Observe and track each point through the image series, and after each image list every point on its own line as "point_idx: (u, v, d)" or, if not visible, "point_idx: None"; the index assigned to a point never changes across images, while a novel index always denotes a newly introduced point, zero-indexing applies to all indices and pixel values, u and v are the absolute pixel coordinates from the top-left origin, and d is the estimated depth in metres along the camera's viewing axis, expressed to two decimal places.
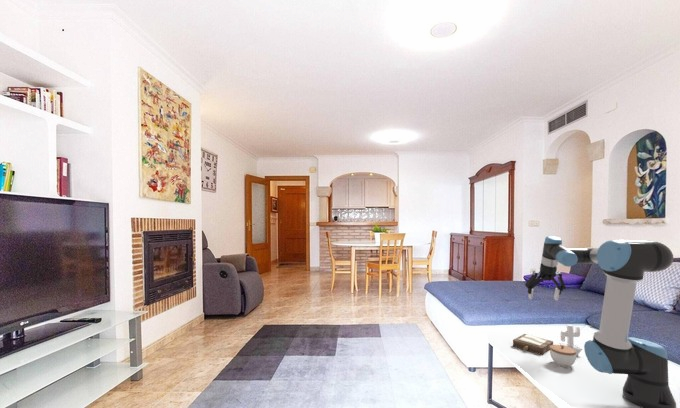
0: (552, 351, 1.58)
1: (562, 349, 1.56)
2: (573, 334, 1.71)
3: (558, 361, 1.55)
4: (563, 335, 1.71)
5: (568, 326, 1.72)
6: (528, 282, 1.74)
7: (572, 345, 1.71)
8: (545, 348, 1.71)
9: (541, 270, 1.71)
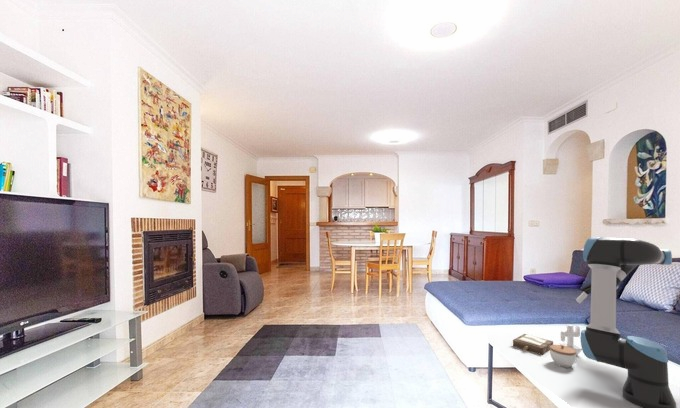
0: (552, 351, 1.58)
1: (562, 349, 1.56)
2: (573, 334, 1.71)
3: (558, 361, 1.55)
4: (563, 335, 1.71)
5: (568, 326, 1.72)
6: None
7: (572, 345, 1.71)
8: (545, 348, 1.71)
9: None
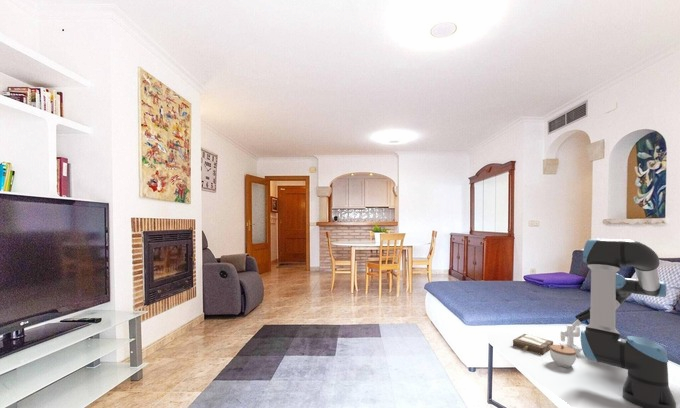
0: (552, 351, 1.58)
1: (562, 349, 1.56)
2: (573, 334, 1.71)
3: (558, 361, 1.55)
4: (563, 335, 1.71)
5: (568, 326, 1.72)
6: None
7: (572, 345, 1.71)
8: (545, 348, 1.71)
9: None
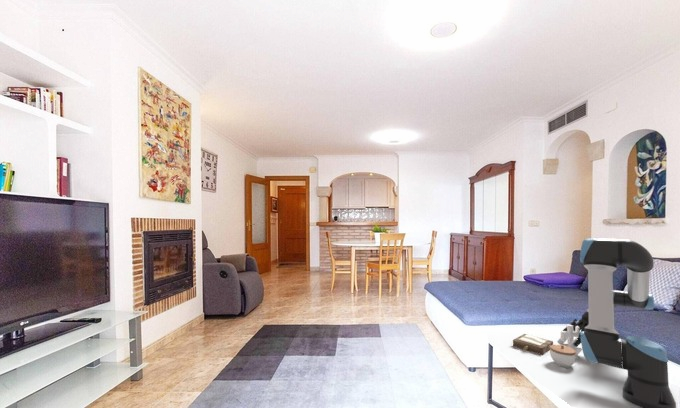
0: (552, 351, 1.58)
1: (562, 349, 1.56)
2: (573, 334, 1.71)
3: (558, 361, 1.55)
4: (563, 335, 1.71)
5: (568, 326, 1.72)
6: None
7: None
8: (545, 348, 1.71)
9: None
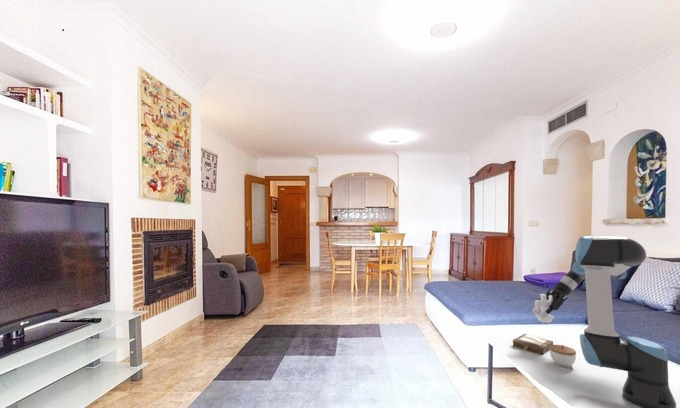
0: (552, 351, 1.58)
1: (562, 349, 1.56)
2: (546, 303, 1.78)
3: (558, 361, 1.55)
4: (537, 304, 1.79)
5: (541, 295, 1.79)
6: None
7: None
8: (545, 348, 1.71)
9: None
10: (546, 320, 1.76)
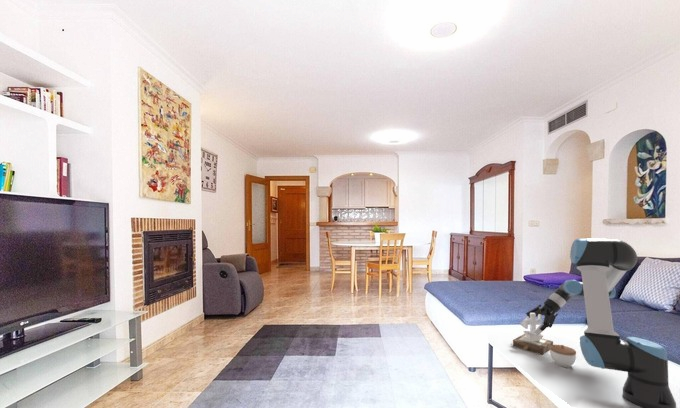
0: (552, 351, 1.58)
1: (562, 349, 1.56)
2: (535, 322, 1.79)
3: (558, 361, 1.55)
4: (526, 323, 1.79)
5: (531, 314, 1.80)
6: None
7: (534, 332, 1.79)
8: (545, 348, 1.71)
9: None
10: (535, 339, 1.77)
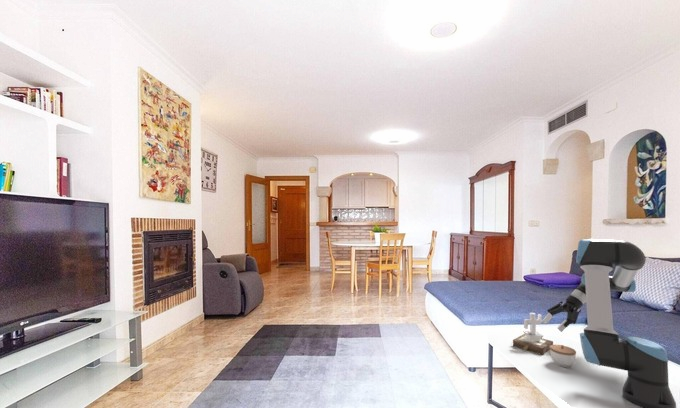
0: (552, 351, 1.58)
1: (562, 349, 1.56)
2: (535, 322, 1.79)
3: (558, 361, 1.55)
4: (526, 323, 1.79)
5: (531, 314, 1.80)
6: None
7: (534, 332, 1.79)
8: (545, 348, 1.71)
9: None
10: (535, 339, 1.77)
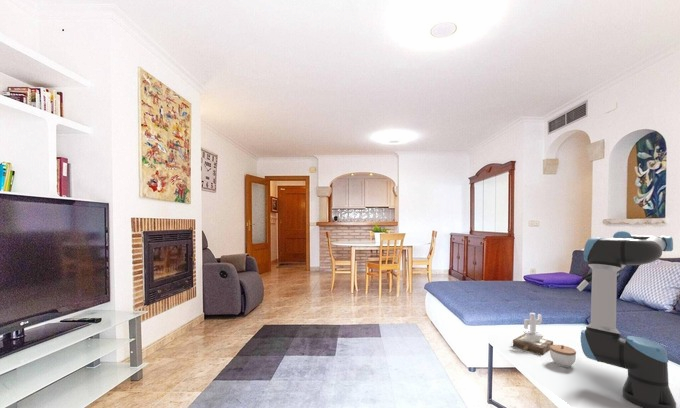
0: (552, 351, 1.58)
1: (562, 349, 1.56)
2: (535, 322, 1.79)
3: (558, 361, 1.55)
4: (526, 323, 1.79)
5: (531, 314, 1.80)
6: None
7: (534, 332, 1.79)
8: (545, 348, 1.71)
9: None
10: (535, 339, 1.77)
